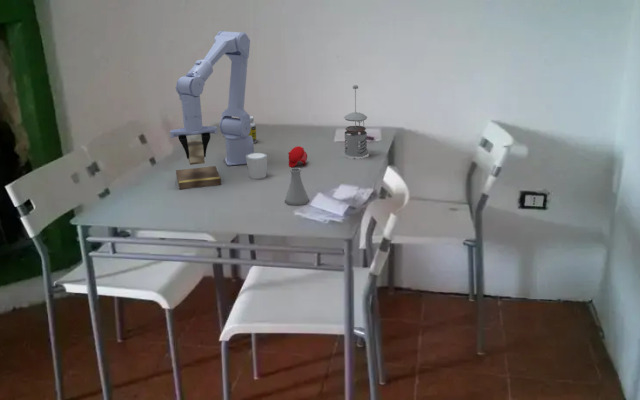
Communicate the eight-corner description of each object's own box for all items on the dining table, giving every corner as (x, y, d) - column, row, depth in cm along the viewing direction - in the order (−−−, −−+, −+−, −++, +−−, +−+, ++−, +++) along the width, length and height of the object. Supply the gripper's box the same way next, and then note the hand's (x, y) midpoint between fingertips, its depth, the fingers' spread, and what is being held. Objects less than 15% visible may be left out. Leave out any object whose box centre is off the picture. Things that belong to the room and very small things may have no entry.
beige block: (202, 157, 217) (201, 139, 215) (204, 163, 211) (203, 145, 209) (188, 159, 216) (186, 141, 214) (190, 164, 210) (188, 146, 208)
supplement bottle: (254, 144, 252) (252, 119, 248) (240, 144, 253) (238, 118, 249) (258, 140, 256) (256, 115, 253) (244, 140, 258) (243, 115, 254)
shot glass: (271, 173, 220) (270, 153, 218) (263, 180, 214) (261, 159, 212) (252, 171, 223) (251, 151, 220) (243, 178, 217) (242, 157, 214)
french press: (337, 157, 235) (336, 87, 225) (349, 148, 244) (348, 80, 235) (364, 160, 231) (364, 88, 222) (374, 150, 241) (375, 81, 232)
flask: (284, 197, 200) (282, 166, 196) (308, 196, 200) (307, 164, 197) (285, 206, 193) (283, 174, 190) (310, 205, 194) (309, 172, 190)
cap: (294, 150, 233) (284, 145, 228) (308, 147, 229) (298, 142, 225) (294, 172, 230) (284, 167, 226) (308, 169, 227) (298, 164, 222)
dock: (216, 171, 223) (215, 165, 222) (221, 184, 212) (220, 178, 211) (176, 176, 220) (175, 169, 219) (179, 189, 208) (178, 182, 208)
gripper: (169, 120, 203) (173, 163, 208) (217, 116, 206) (220, 158, 211) (167, 114, 209) (172, 156, 214) (214, 111, 212) (217, 151, 217)
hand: (196, 156), depth 213 cm, fingers closed on beige block, 4 cm apart
